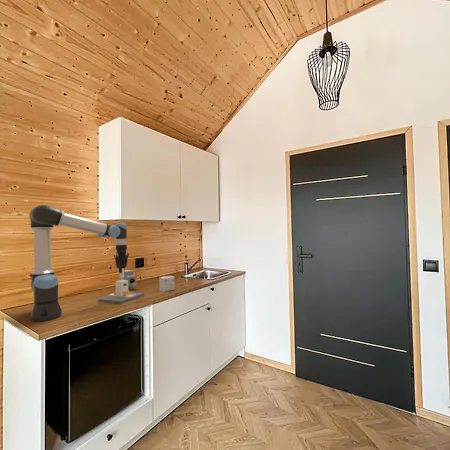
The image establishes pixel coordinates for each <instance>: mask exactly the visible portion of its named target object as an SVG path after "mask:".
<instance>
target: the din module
mask: <svg viewBox="0 0 450 450" xmlns="http://www.w3.org/2000/svg"><path fill="white" fill-rule="evenodd" d="M115 290H116V296H124V292H125V291H129V290H128V280H120V279H119V280H117V281H115Z"/></svg>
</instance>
